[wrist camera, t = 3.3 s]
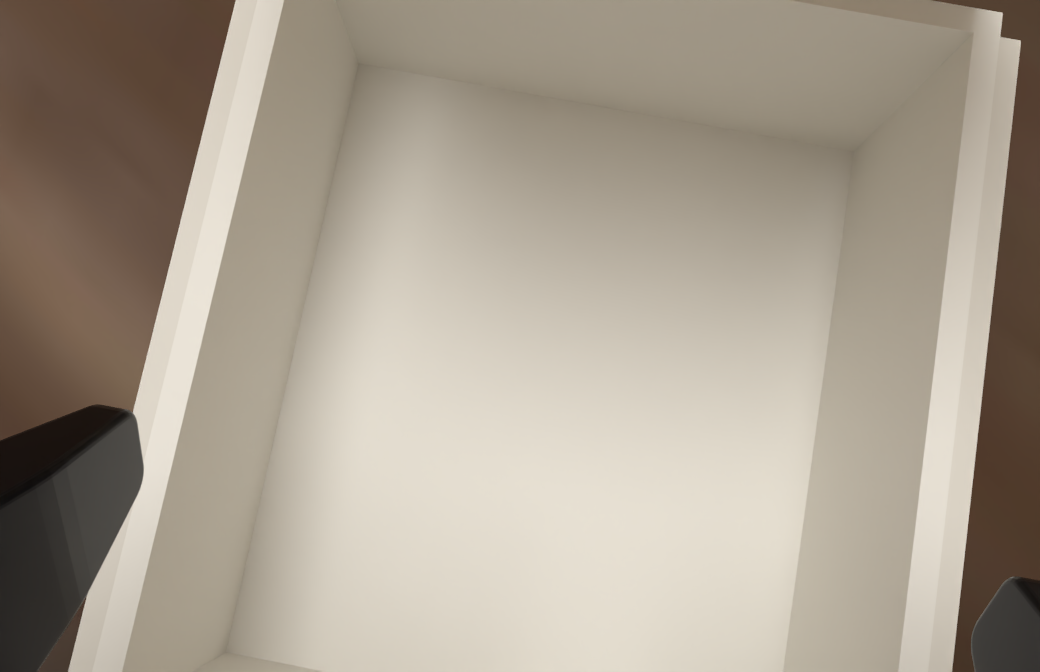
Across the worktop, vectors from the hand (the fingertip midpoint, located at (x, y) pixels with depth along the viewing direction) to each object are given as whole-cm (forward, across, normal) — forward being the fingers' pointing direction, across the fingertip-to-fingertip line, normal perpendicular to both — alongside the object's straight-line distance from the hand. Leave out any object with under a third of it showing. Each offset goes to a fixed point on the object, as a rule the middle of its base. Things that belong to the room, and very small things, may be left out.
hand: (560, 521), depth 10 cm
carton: (+12, 0, -8) cm, 14 cm away
